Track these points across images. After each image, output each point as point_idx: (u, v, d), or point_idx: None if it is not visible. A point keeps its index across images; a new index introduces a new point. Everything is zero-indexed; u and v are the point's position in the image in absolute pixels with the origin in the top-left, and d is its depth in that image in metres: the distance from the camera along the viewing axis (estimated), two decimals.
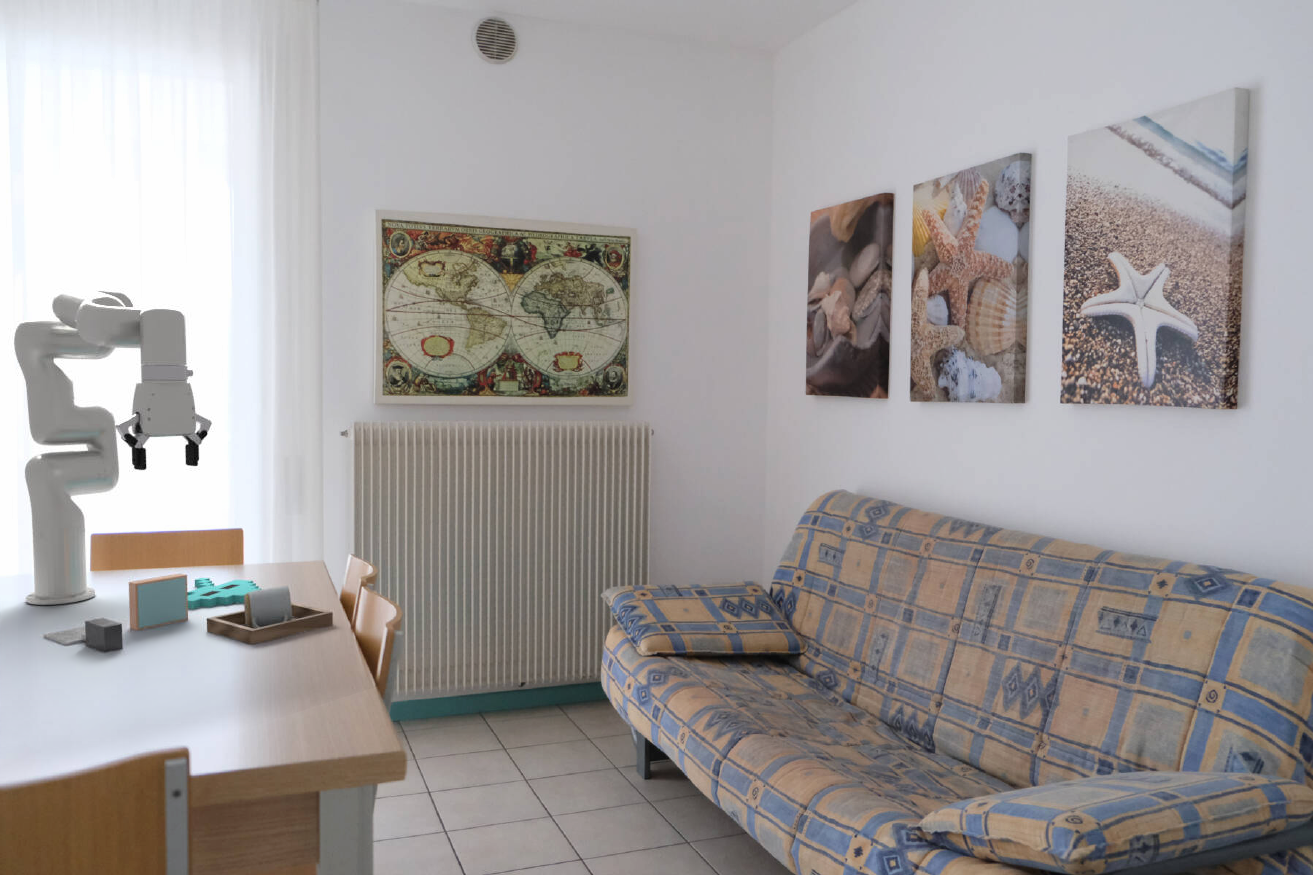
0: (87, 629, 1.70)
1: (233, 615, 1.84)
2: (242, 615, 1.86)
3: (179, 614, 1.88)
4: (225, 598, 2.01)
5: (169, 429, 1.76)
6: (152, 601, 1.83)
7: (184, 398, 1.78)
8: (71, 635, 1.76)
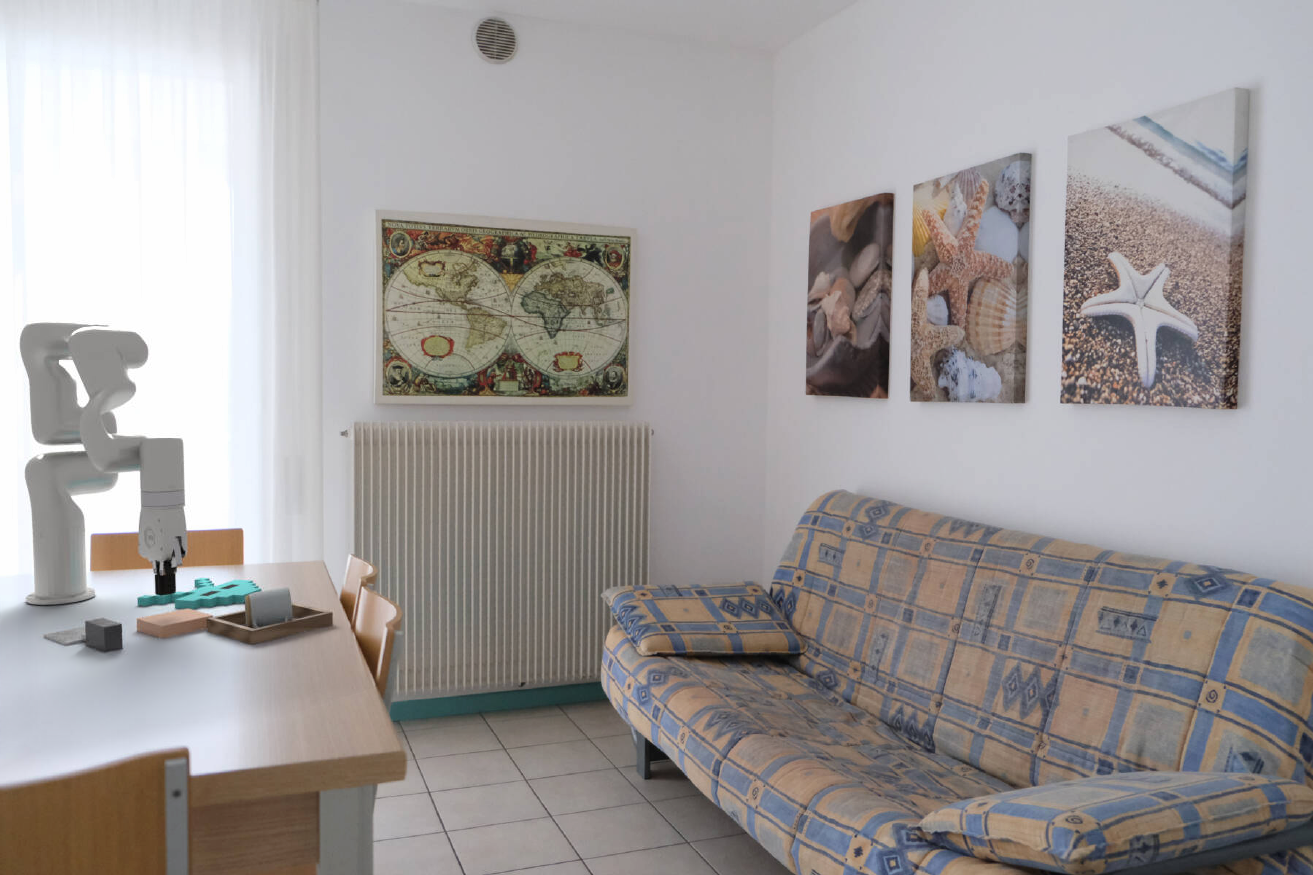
0: (87, 629, 1.70)
1: (233, 615, 1.84)
2: (242, 615, 1.86)
3: None
4: (225, 598, 2.01)
5: None
6: None
7: None
8: (71, 635, 1.76)
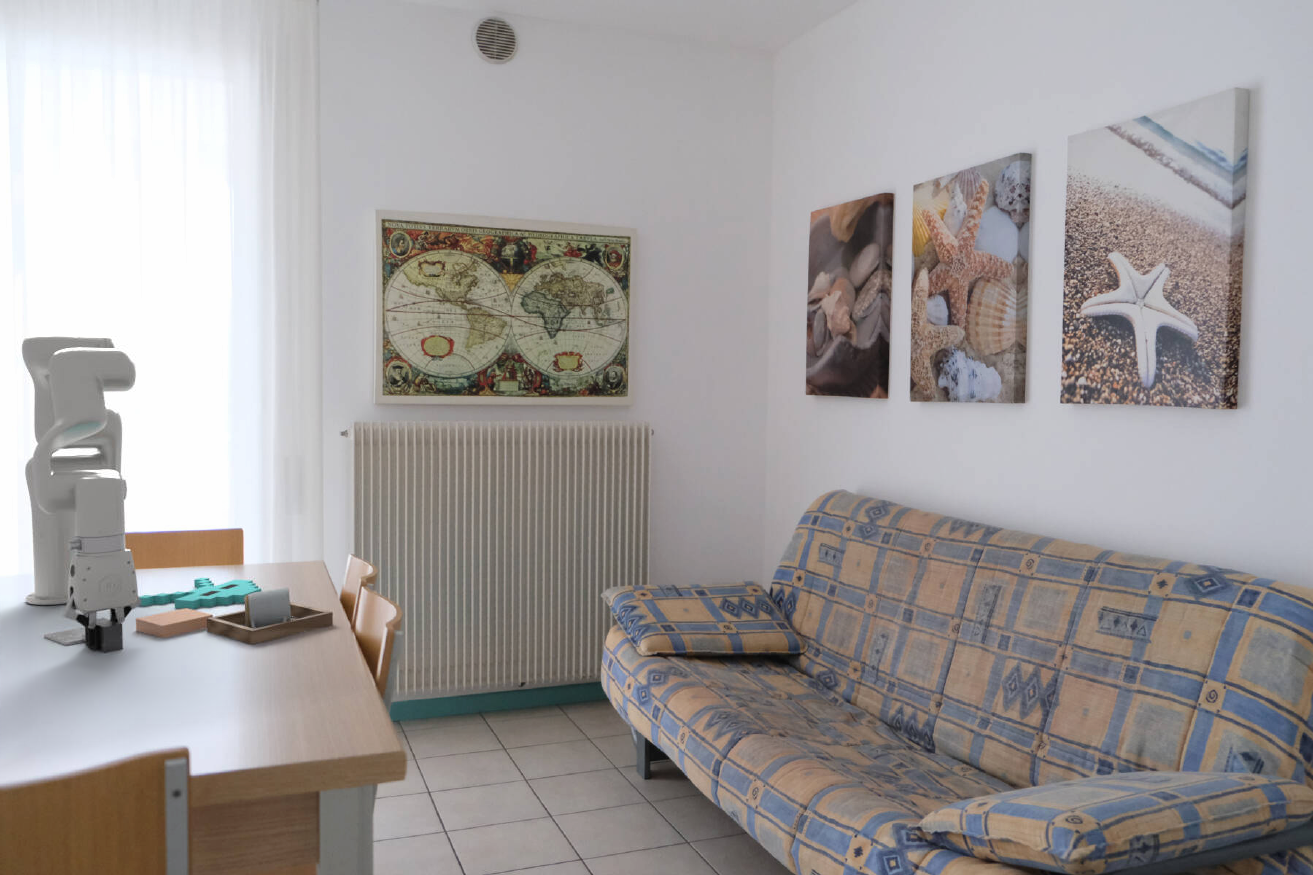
0: None
1: (233, 615, 1.84)
2: (242, 615, 1.86)
3: None
4: (225, 598, 2.01)
5: None
6: None
7: None
8: (71, 635, 1.76)
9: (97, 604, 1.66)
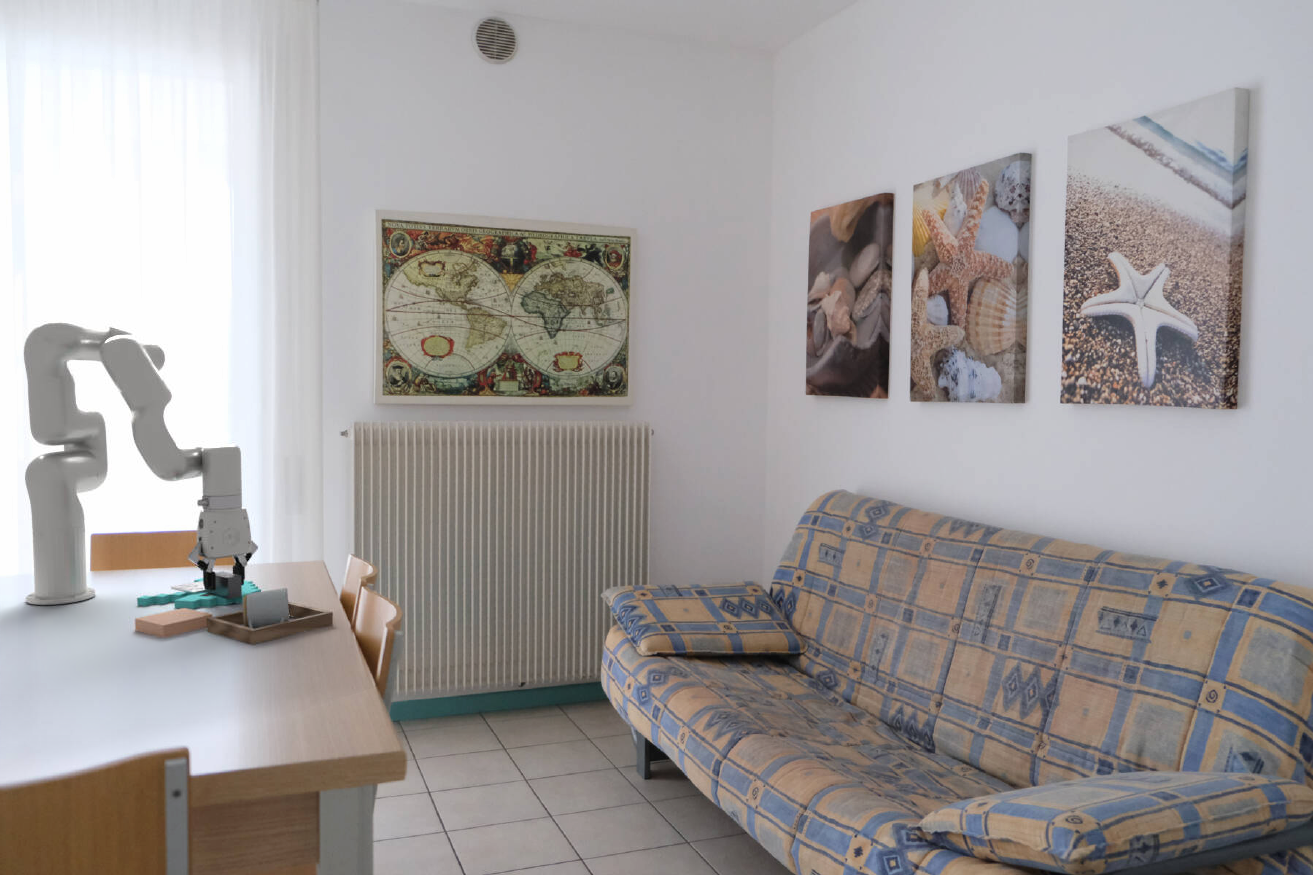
0: None
1: (233, 615, 1.84)
2: (242, 615, 1.86)
3: None
4: None
5: None
6: None
7: None
8: (194, 587, 2.09)
9: (221, 552, 1.99)
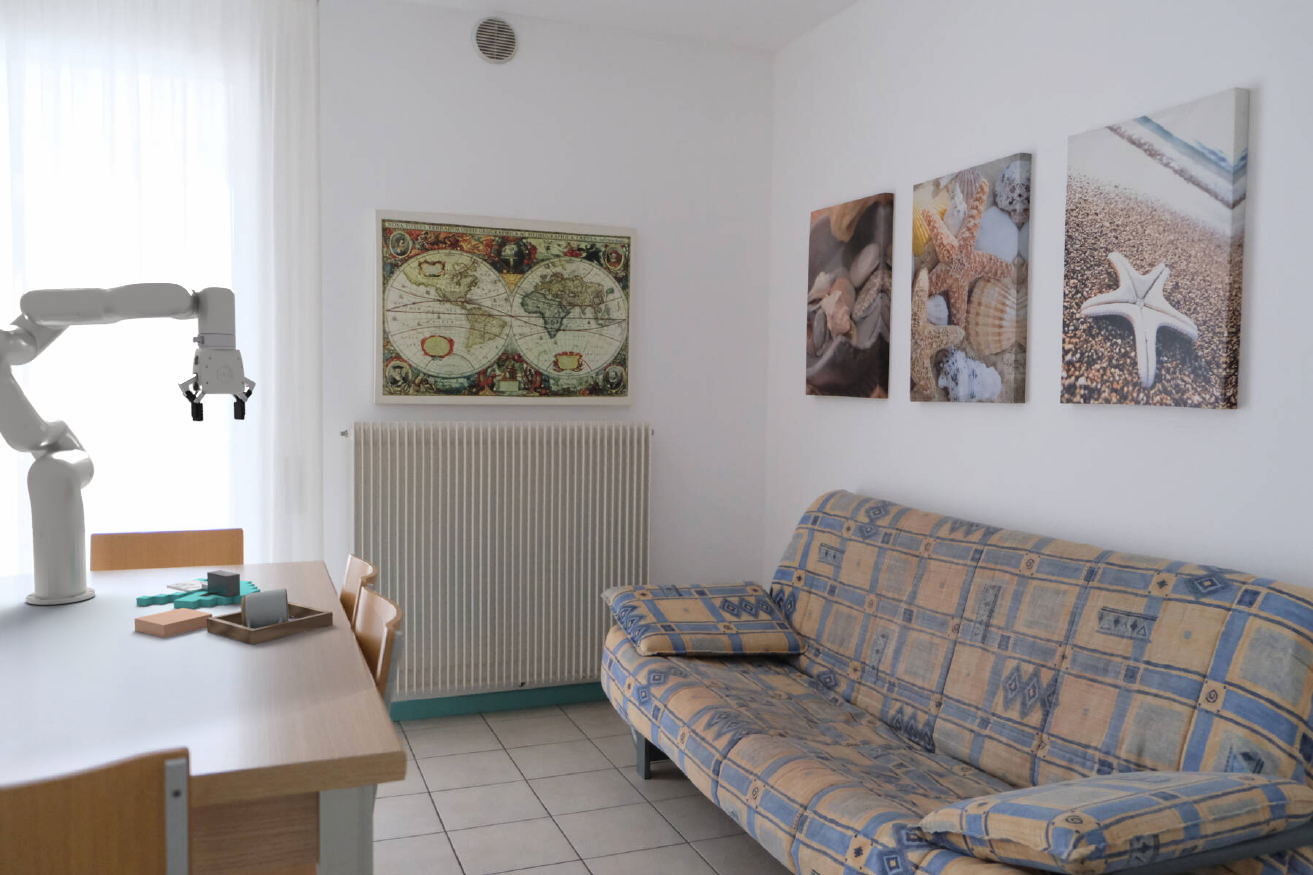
0: (209, 579, 2.05)
1: (233, 615, 1.84)
2: None
3: None
4: (224, 599, 2.01)
5: None
6: None
7: None
8: (191, 585, 2.10)
9: (215, 388, 2.08)
